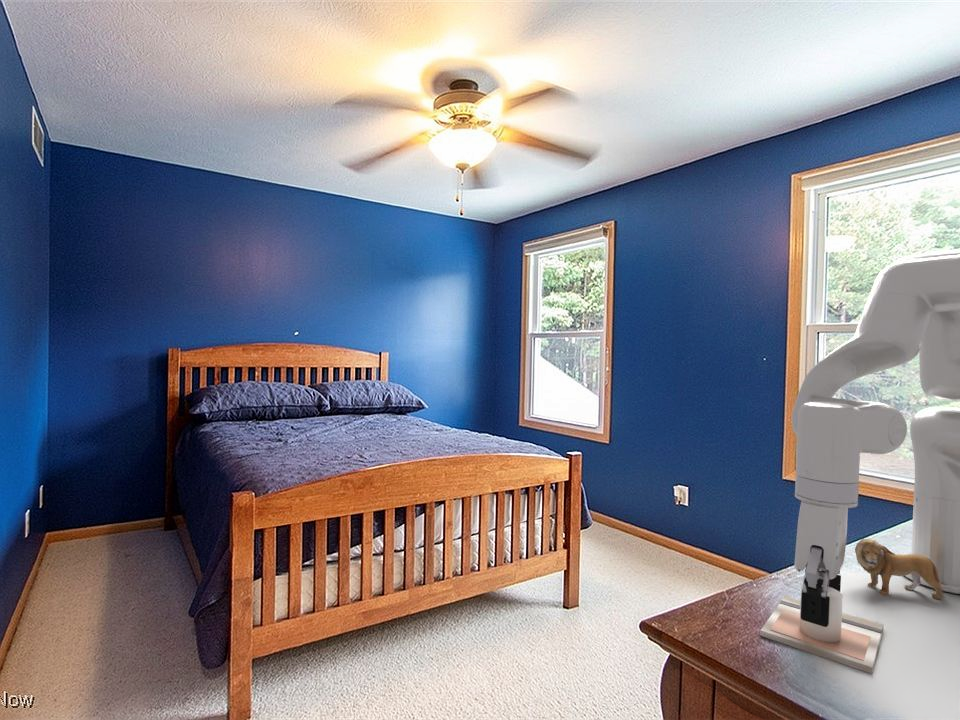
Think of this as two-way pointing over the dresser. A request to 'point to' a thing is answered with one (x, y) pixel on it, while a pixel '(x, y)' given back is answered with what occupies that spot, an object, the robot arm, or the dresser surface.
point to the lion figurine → (895, 566)
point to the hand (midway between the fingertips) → (820, 610)
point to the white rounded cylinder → (835, 620)
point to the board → (851, 650)
